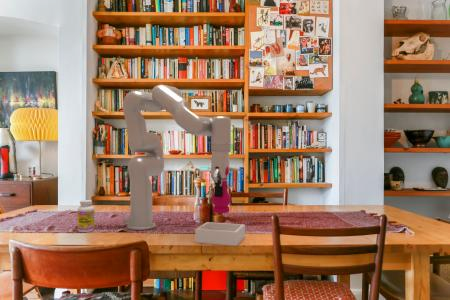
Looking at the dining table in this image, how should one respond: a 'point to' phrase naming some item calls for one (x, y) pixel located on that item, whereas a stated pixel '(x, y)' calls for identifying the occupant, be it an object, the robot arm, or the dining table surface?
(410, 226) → the dining table surface
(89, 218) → the supplement bottle
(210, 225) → the tote
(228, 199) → the pepper mill
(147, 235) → the dining table surface
